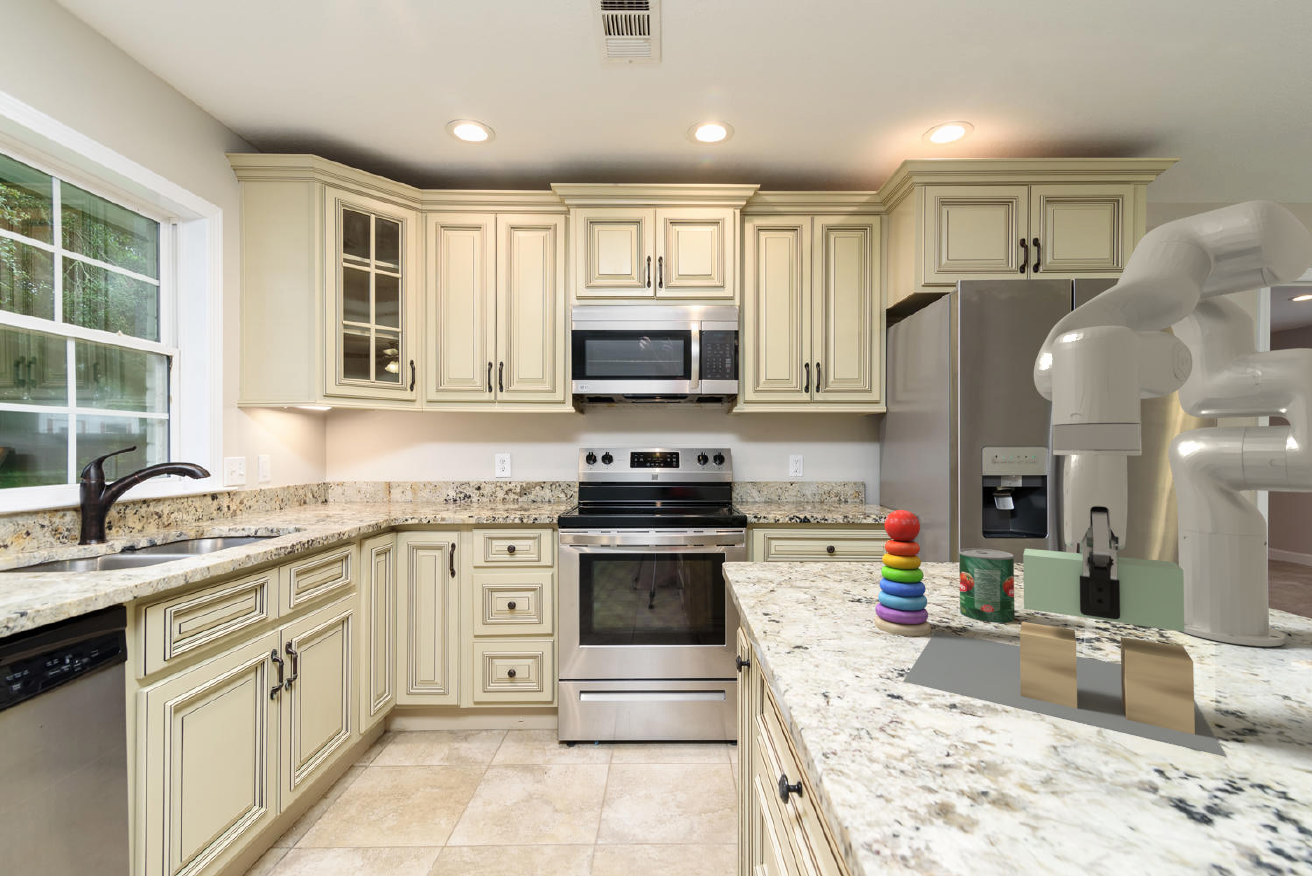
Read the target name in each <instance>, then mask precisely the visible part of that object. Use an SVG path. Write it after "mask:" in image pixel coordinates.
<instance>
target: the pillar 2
mask: <svg viewBox="0 0 1312 876" xmlns="http://www.w3.org/2000/svg"><path fill="white" fill-rule="evenodd" d="M1120 664H1121V690H1122V704H1123V708H1124V712H1125V715H1126V719H1127V720H1131V721H1135V722H1140V723H1144V724H1149V725H1153V726H1158V727H1162V728H1167V729H1171V730H1176V731H1180V732H1185V733H1189V734H1194V735H1195V720H1194V700H1195V683H1194V682H1195V681H1194V678H1195V677H1194V661H1193V659H1192V657H1191V656H1190V655H1189V653H1188V652H1187V650H1186V648H1185V647H1184V646H1181V645H1174V644H1169V643H1163V642H1155V641H1150V640H1143V639H1135V638H1130V637H1124V636H1123V637H1122V636H1120Z"/></svg>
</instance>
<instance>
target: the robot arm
mask: <svg viewBox="0 0 1312 876" xmlns="http://www.w3.org/2000/svg"><path fill="white" fill-rule="evenodd" d="M1311 262H1312V238H1311V235H1310V232H1309V231H1308V230H1307V228H1306V226H1305V225H1304V224H1303V223H1302V222H1301V221H1300V220H1299V219H1298V217H1296V216H1295V215H1294V213H1292V212H1291V211H1290V210H1288V208H1287V207H1285V206H1283V205H1281V204H1280V203H1277V202H1275V201H1270V200H1266V199H1257V200H1256V199H1255V200H1248V201H1245V202H1240V203H1237V204H1232V205H1229V206H1225V207H1222V208H1221V207H1220V208H1217V209H1213V210H1210V211H1205V212H1201V213H1198V214H1195V215H1190V216H1186V217H1183V218H1179V219H1175V220H1172V221H1169V222H1166V223H1163V224H1161V225H1158V226H1157V227H1155V228H1153V229H1151V230H1150V231H1148V232H1147V233H1146V234H1145V235H1143V237H1142V238H1141V239H1140V240H1139V241H1138V243H1137V244H1136V246H1135V249H1134V250H1133V252H1132V254H1131V256H1130V258H1129V260H1128V261H1127V264H1126V265H1125V268H1124V269H1123V271H1122V272H1121V275H1120V277H1119V279H1118V281H1117V283H1116V284H1115V285H1114V286H1111V287H1110V288H1108V289H1106V290H1104V291H1103V292H1101V293H1100V294H1098V295H1096V296H1094V297H1093V298H1091V299H1090V300H1088V301H1086V302H1085V303H1084V304H1082V305H1080V306H1079V307H1077V308H1075V309H1074V310H1072V311H1071V312H1068V313H1066V315H1065V316H1064V317H1062V318H1061V319H1060V320H1059V321H1057V323H1056V324H1055V325H1054V326H1053V327H1052V328H1051V330H1050V332H1049V333H1048V335H1047V337H1046V339H1045V340H1044V342H1043V344H1042V345H1041V348H1040V349H1039V351H1038V354H1037V357H1036V359H1035V364H1034V368H1033V382H1034V386H1035V387H1036V390H1037V392H1038V393H1039V395H1041V397H1043V398H1044V399H1046V400H1047V401H1049V402H1050V401H1051V402H1052V407H1051V408H1052V409H1051V410H1052V455H1053V456H1064V464H1063V486H1062V487H1063V489H1062V490H1063V533H1064V543H1065V545H1067V546H1068V547H1069V548H1073V547H1074V544H1079V553H1080V554H1082V564H1083V576H1080V611H1081V613H1082V614H1083V615H1088V616H1095V617H1102V618H1109V619H1119V618H1120V581H1119V580H1117V560H1116V557H1117V552H1120V551H1122V550H1123V549H1125V547H1126V541H1127V540H1126V539H1127V526H1128V525H1127V524H1128V523H1127V522H1128V457H1127V456H1142V454H1143V453H1142V414H1141V413H1142V412H1141V411H1142V403H1141V402H1142V401H1141V400H1142V399H1156V398H1159V397H1160V398H1161V397H1165V396H1169V395H1170V394H1173V393H1175V392H1176V391H1177V394H1178V400H1179V404H1180V407H1181V409H1182V411H1184V412H1185V413H1186V414H1187V415H1189V416H1192V417H1193V418H1194V417H1195V418H1202V419H1203V418H1204V419H1226V418H1227V419H1228V418H1229V419H1230V418H1232V419H1233V418H1237V419H1238V418H1263V417H1264V418H1265V417H1266V418H1267V417H1280V418H1284V419H1286V420H1287V421H1288V423H1289V424H1290V425H1260V426H1259V425H1257V426H1250V425H1245V426H1242V425H1241V426H1237V425H1236V426H1210V427H1209V426H1208V427H1200V428H1199V427H1198V428H1193V429H1189V430H1185V431H1183V432H1180V433H1179V434H1177V435H1176V436H1174V437H1173V438H1172V440H1171V441H1170V443H1169V445H1168V446H1169V447H1168V452H1167V453H1168V461H1169V466H1170V470H1171V475H1172V479H1173V484H1174V490H1175V496H1176V506H1177V507H1176V508H1177V536H1178V537H1177V538H1178V539H1177V541H1178V566H1179V567H1180V568H1181V569H1183V576H1184V629H1185V632H1183V633H1184V634H1187V635H1191V636H1195V637H1199V638H1202V639H1207V640H1210V641H1211V640H1212V641H1217V642H1221V643H1226V644H1234V645H1243V646H1251V647H1266V648H1268V647H1269V648H1270V647H1278V646H1279V647H1280V646H1283V645H1284V644H1286V635H1285V634H1284V633H1283V632H1281V631H1279V630H1277V629H1274V628H1272V627H1270V615H1269V614H1270V612H1269V611H1270V610H1269V604H1270V603H1269V602H1270V601H1269V571H1268V570H1269V567H1268V564H1269V563H1268V529H1267V528H1268V526H1267V522H1266V519H1265V517H1264V515H1263V514H1262V513H1261V511H1260V510H1259V509H1258V508H1257V507H1256V506H1255V505H1254V504H1253V503H1252V502H1251V501H1249V500H1248V499H1247V498H1245V496H1244V495H1242V493H1241V492H1243V491H1261V492H1285V493H1286V492H1287V493H1288V492H1289V493H1312V348H1310V347H1309V348H1305V347H1303V348H1302V347H1299V348H1297V347H1296V348H1285V349H1276V350H1267V351H1265V350H1264V351H1258V350H1257V348H1256V344H1255V342H1256V341H1255V323H1254V320H1253V318H1252V316H1251V314H1250V313H1248V311H1246V309H1244V308H1242V306H1240V305H1239V304H1237V303H1236V302H1234V301H1233V300H1231V299H1230V298H1228V297H1226V296H1225V295H1230V294H1236V293H1242V292H1248V291H1254V290H1261V289H1266V288H1273V287H1277V286H1282V285H1283V286H1284V285H1287V284H1290V283H1292V282H1294V281H1297V280H1299V279H1300V278H1301V277H1303V275H1305V273H1306V272H1307V270H1308V269H1309V267H1310V266H1311ZM1169 327H1171V330H1172V332H1173V334H1171V333H1169V332H1165V331H1162V330H1164V329H1166V328H1169ZM1089 554H1090V555H1089ZM1089 564H1090V565H1089Z"/></svg>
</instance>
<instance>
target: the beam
mask: <svg viewBox="0 0 1312 876" xmlns="http://www.w3.org/2000/svg"><path fill="white" fill-rule="evenodd" d="M1089 555H1090V554H1089ZM1022 556H1023V557H1022V559H1023V560H1022V561H1023V609H1024V610H1029V611H1036V612H1042V613H1043V612H1044V613H1050V614H1058V615H1064V616H1072V617H1079V618H1085V619H1092V620H1098V621H1099V620H1100V621H1105V622H1114V623H1119V624H1120V623H1121V624H1126V625H1134V626H1141V627H1145V628H1146V627H1149V628H1154V629H1159V630H1167V631H1177V632H1181V633H1184V632H1185V629H1184V576H1183V569H1181V568H1180V567H1179V564H1178V563H1176V562H1175V561H1169V560H1168V561H1167V560H1157V559H1156V560H1155V559H1147V558H1146V559H1145V558H1133V557H1123V556H1116V560H1117V580H1119V581H1120V618H1119V619H1109V618H1102V617H1095V616H1088V615H1083V614H1082V613H1081V611H1080V576H1083V564H1082V554H1080V552H1079V553H1078V552H1068V551H1067V552H1066V551H1055V550H1045V549H1037V548H1036V549H1034V548H1024V551H1023V555H1022ZM1089 565H1090V564H1089Z"/></svg>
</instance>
